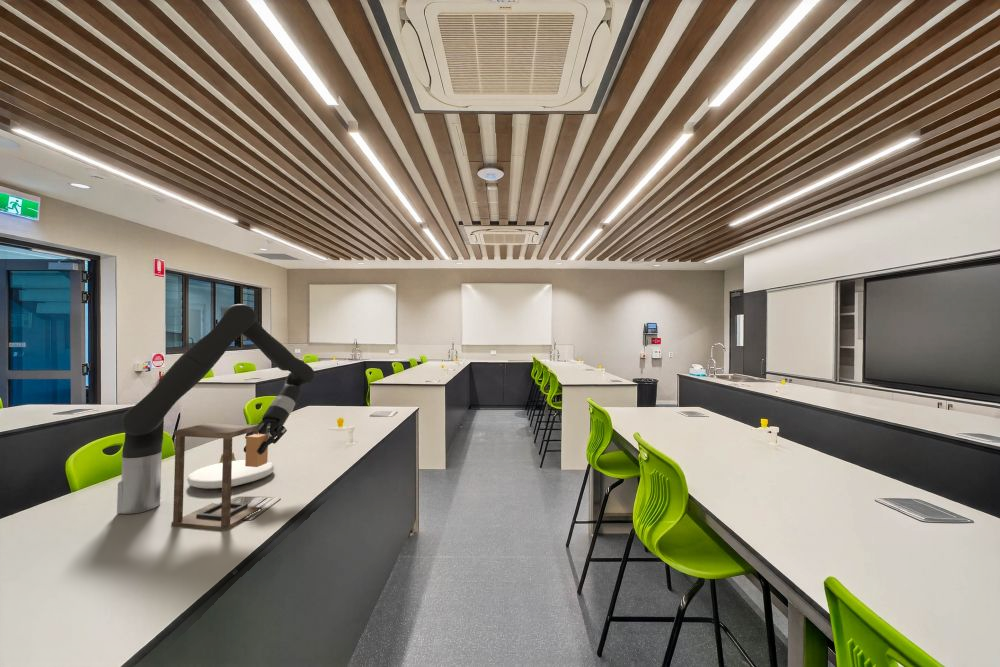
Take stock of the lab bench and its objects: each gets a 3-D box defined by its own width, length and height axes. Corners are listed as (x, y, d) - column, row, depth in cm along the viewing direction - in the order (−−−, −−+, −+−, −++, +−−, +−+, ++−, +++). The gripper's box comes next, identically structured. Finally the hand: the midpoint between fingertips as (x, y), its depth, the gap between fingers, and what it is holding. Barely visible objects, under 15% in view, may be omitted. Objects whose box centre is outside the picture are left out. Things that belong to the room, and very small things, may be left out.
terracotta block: (255, 462, 131) (256, 433, 132) (267, 462, 131) (268, 434, 131) (245, 466, 127) (246, 436, 127) (257, 467, 126) (258, 437, 126)
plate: (226, 456, 160) (288, 457, 159) (225, 472, 159) (287, 473, 158) (167, 471, 132) (242, 473, 132) (165, 491, 131) (240, 492, 131)
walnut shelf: (212, 506, 122) (214, 421, 123) (261, 510, 119) (263, 423, 120) (171, 525, 109) (174, 430, 110) (225, 530, 106) (228, 433, 107)
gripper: (257, 403, 138) (227, 445, 125) (292, 405, 136) (265, 448, 123) (267, 415, 143) (240, 457, 131) (301, 417, 141) (276, 459, 128)
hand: (252, 452), depth 127 cm, fingers closed on terracotta block, 4 cm apart
